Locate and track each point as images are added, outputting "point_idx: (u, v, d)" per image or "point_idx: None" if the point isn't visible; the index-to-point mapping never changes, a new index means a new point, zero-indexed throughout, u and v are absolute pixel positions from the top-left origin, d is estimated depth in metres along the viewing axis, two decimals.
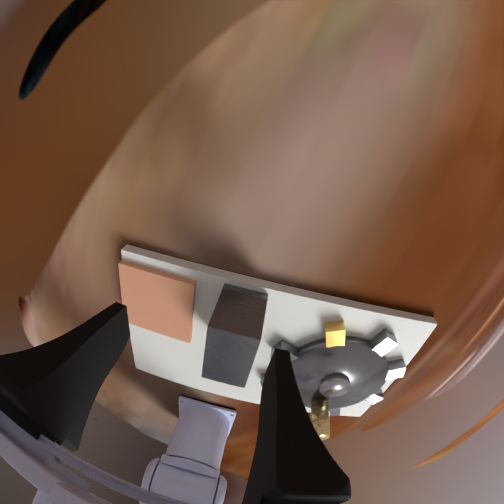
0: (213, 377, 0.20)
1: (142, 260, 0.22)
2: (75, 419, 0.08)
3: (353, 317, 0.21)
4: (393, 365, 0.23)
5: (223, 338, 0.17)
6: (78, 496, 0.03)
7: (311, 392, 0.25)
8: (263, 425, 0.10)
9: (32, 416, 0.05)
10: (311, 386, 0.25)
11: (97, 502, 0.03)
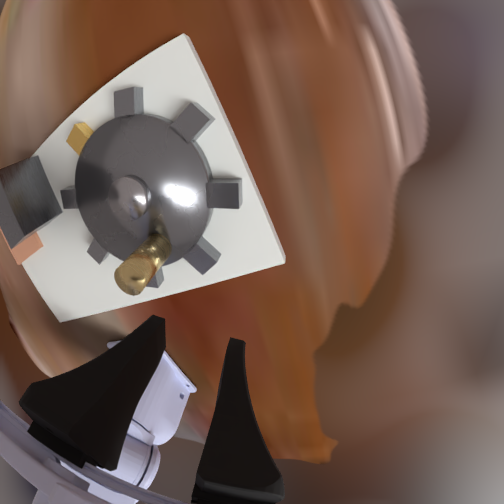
0: (11, 241, 0.16)
1: None
2: (116, 440, 0.08)
3: (88, 112, 0.16)
4: None
5: None
6: (78, 496, 0.03)
7: (130, 232, 0.18)
8: None
9: (80, 447, 0.05)
10: (120, 221, 0.18)
11: (97, 502, 0.03)
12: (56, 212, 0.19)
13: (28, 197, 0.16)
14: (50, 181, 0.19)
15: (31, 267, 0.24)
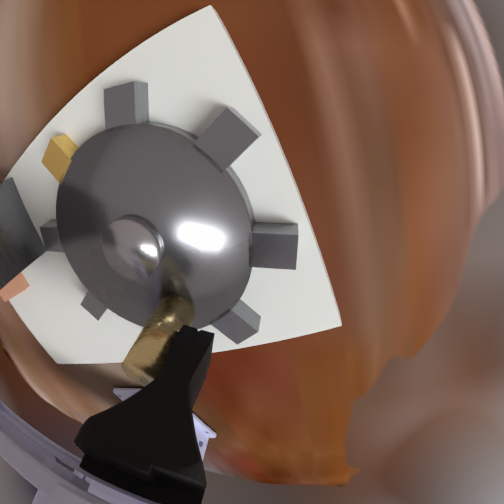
0: None
1: None
2: None
3: (70, 119, 0.11)
4: None
5: None
6: (78, 496, 0.03)
7: (136, 289, 0.14)
8: None
9: (152, 480, 0.05)
10: (121, 275, 0.13)
11: (97, 502, 0.03)
12: (38, 252, 0.14)
13: (0, 236, 0.11)
14: (28, 211, 0.14)
15: (19, 305, 0.19)
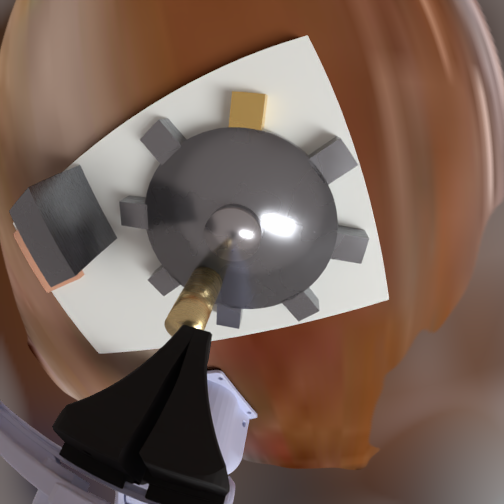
0: (52, 278, 0.14)
1: None
2: None
3: (164, 114, 0.14)
4: (346, 230, 0.15)
5: (18, 213, 0.12)
6: (78, 496, 0.03)
7: (193, 246, 0.16)
8: None
9: (125, 469, 0.05)
10: (194, 229, 0.15)
11: (97, 502, 0.03)
12: (109, 239, 0.17)
13: (73, 222, 0.14)
14: (99, 199, 0.17)
15: (64, 295, 0.22)
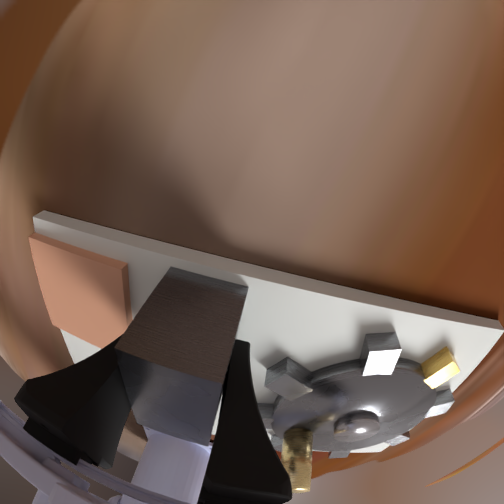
0: (154, 426, 0.10)
1: (55, 231, 0.12)
2: (111, 438, 0.08)
3: (396, 327, 0.12)
4: None
5: (148, 373, 0.08)
6: (78, 496, 0.03)
7: (316, 420, 0.14)
8: (220, 416, 0.10)
9: (74, 444, 0.05)
10: (330, 415, 0.14)
11: (97, 502, 0.03)
12: None
13: None
14: (241, 334, 0.13)
15: (79, 339, 0.16)
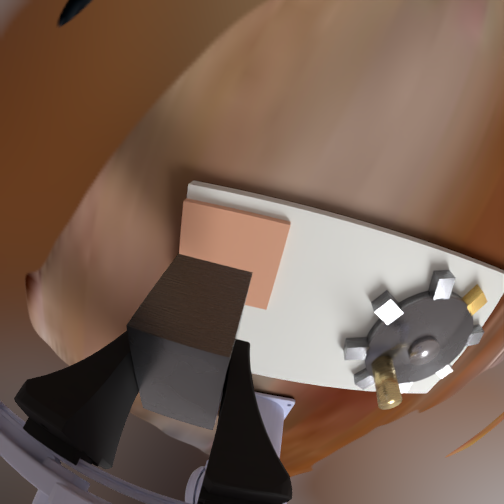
0: (160, 410, 0.11)
1: (218, 197, 0.18)
2: (111, 438, 0.08)
3: (450, 266, 0.17)
4: None
5: (158, 350, 0.08)
6: (78, 496, 0.03)
7: (398, 345, 0.20)
8: (220, 416, 0.10)
9: (74, 443, 0.05)
10: (408, 338, 0.19)
11: (97, 502, 0.03)
12: None
13: None
14: (361, 273, 0.19)
15: None
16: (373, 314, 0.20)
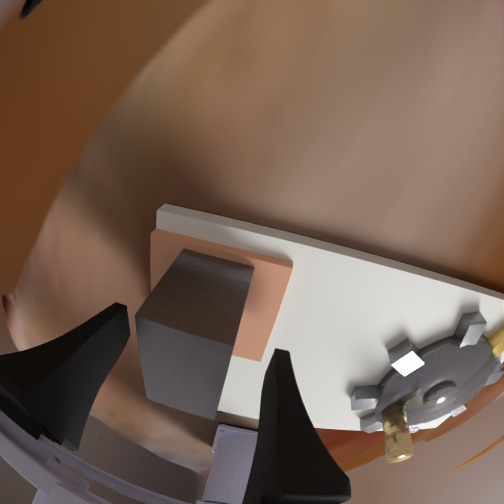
0: (164, 400, 0.11)
1: (195, 227, 0.13)
2: (75, 419, 0.08)
3: (481, 307, 0.13)
4: None
5: (165, 339, 0.09)
6: (78, 496, 0.03)
7: (413, 393, 0.15)
8: (263, 425, 0.09)
9: (32, 416, 0.05)
10: (426, 386, 0.15)
11: (97, 502, 0.03)
12: None
13: None
14: (380, 321, 0.14)
15: None
16: (388, 363, 0.16)
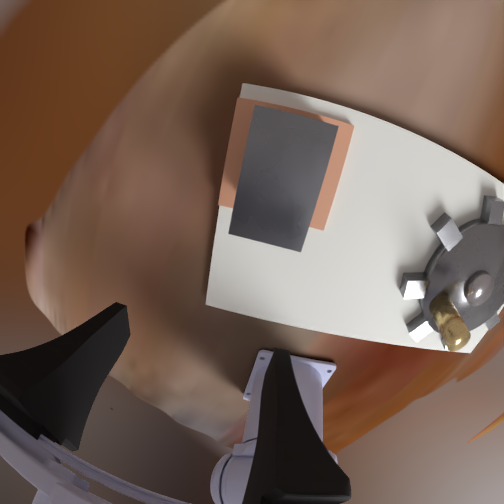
0: (250, 229, 0.13)
1: (275, 96, 0.15)
2: (75, 419, 0.08)
3: (497, 192, 0.14)
4: None
5: (278, 126, 0.10)
6: (78, 496, 0.03)
7: (456, 280, 0.17)
8: (263, 425, 0.10)
9: (32, 416, 0.05)
10: (466, 272, 0.16)
11: (97, 502, 0.03)
12: None
13: None
14: (421, 190, 0.16)
15: None
16: (431, 242, 0.17)
